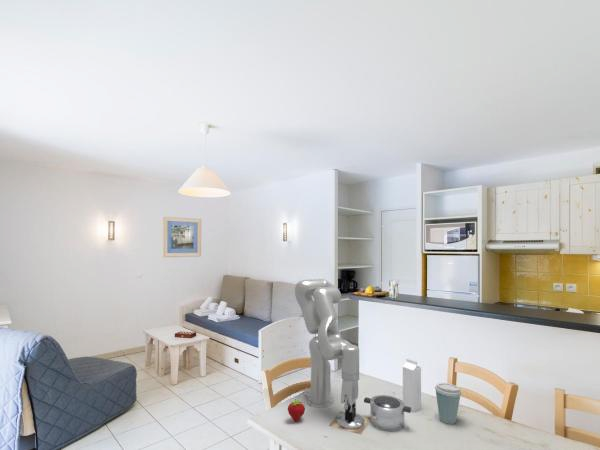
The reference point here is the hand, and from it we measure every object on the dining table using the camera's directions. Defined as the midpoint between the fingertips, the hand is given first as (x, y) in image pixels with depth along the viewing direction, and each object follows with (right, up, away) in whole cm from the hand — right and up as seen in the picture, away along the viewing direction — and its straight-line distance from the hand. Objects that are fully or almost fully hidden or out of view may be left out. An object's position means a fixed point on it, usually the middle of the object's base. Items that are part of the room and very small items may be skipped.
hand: (350, 418), depth 145 cm
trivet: (0, -2, 0) cm, 2 cm away
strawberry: (-23, -2, +1) cm, 23 cm away
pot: (+16, -2, 0) cm, 16 cm away
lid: (0, -2, 0) cm, 2 cm away
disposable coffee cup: (+43, -3, +3) cm, 44 cm away
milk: (+31, -3, +14) cm, 34 cm away
